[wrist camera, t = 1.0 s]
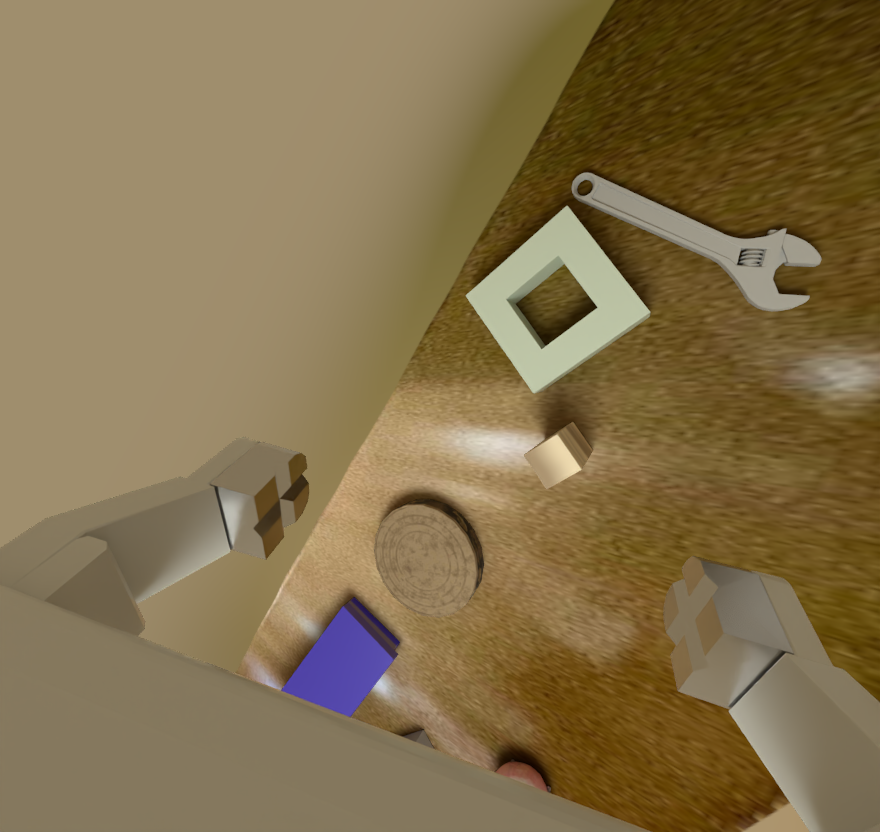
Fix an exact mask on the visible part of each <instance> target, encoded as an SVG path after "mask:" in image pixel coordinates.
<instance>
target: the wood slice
mask: <svg viewBox="0 0 880 832" xmlns="http://www.w3.org/2000/svg"><path fill="white" fill-rule="evenodd" d="M374 553H375V559H376V566H377V569H378V571H379V574H380V576H381V578H382V581H383V583H384V584H385V586H386V587H387V589H388V590H389V591H390V593H391V594H392V595H393V597H394V598H395V599H397V600H398V601H399V602H400V603H401V604H403V605H404V606H405V607H406V608H407V609H409V610H412V611H414V612H416V613H418V614H420V615H423V616H430V617H438V618H439V617H443V616H447V615H451V614H454V613H456V612H457V611H458V610H460V609H461V608H462V607H464V606H465V605H466V604H467V603H468V601H469V600H470V599H471V597H472V596H473V594H474V593H475V591H476V589H477V588H478V586H479V584H480V582H481V580H482V574H483V568H484V560H483V554H482V547H481V544H480V542H479V540H478V538H477V536H476V533H475V531H474V529H473V528H472V527H471V525H470V524H469V523H468V522H467V521H466V519H465V518H464V517H463V516H462V515H461V514H460V513H458V512H457V511H456V510H454V509H453V508H451V507H450V506H448V505H447V504H444V503H441V502H438V501H435V500H431V499H424V500H414V501H411V502H409V503H406V504H404V505H402V506H400V507H398V508H397V509H395V510H393V511H392V512H391V513H390V514H389V515H388V516H387V517H386V518H385V519H384V520H383V521H382V523H381V525H380V527H379V529H378V531H377V534H376V538H375V547H374Z"/></svg>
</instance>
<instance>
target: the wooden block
mask: <svg viewBox="0 0 880 832" xmlns="http://www.w3.org/2000/svg"><path fill="white" fill-rule="evenodd" d="M592 451H593V449H592V448H591V447H590V445H589V444H588V442H587V441H586V440H585V438H584V437H583V435H582V434H581V432H580V431H579V430H578V428H577V427H576V425H575V424H574V422H572V423H570V424H568V425H567V426H565V427H564V428H562V429H561V430H559V431H557V432H556V433H554V434H553V435H551V436H550V437H548V438H546V439H545V440H543V441H542V442H541V443H539V444H538V445H537V446H535V447H534V448H533V449H531V450H530V451H529V452H527V453H526V454H525V455H524V457H525V458H526V459H527V461H528V462H529V464H530V465H531V467H532V468H533V470H534V471H535V473H536V474H537V476H538V477H539V479H540V480H541V482H542V483H543V485H544V486H545V488H546V489H548V488H550V487H552V486H554V485H555V484H557V483H559V482H561V481H562V480H564V479H566V478H568V477H569V476H571V475H573V474H575V473H576V472H578V471H580V470H582V468H583V466H584V465H585V463H586V461H587V460H588V458H589V456H590V455H591V453H592Z"/></svg>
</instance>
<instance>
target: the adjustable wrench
mask: <svg viewBox="0 0 880 832" xmlns="http://www.w3.org/2000/svg"><path fill="white" fill-rule="evenodd" d="M584 180H590V181H591V182H592V184H593V189H592V191H591V192H590V193H589V194H588V195H586V196H581V195H579V194H578V192H577V187H578V185H579V183H580V182H582V181H584ZM572 193H573V195H574V197H575V198H576V199H577V200H578V201H580V202H583V203H585V204H587V205H589V206H592V207H594V208H596V209H598V210H601V211H603V212H605V213H607V214H610V215H612V216H614V217H617V218H619V219H621V220H623V221H626V222H628V223H630V224H632V225H635V226H637V227H639V228H641V229H644V230H646V231H648V232H651V233H653V234H655V235H657V236H660V237H662V238H664V239H666V240H669V241H671V242H673V243H675V244H678V245H680V246H682V247H685V248H687V249H689V250H691V251H694V252H696V253H698V254H700V255H703V256H705V257H707V258H709V259H711V260H713V261H715V262H716V263H718V264H719V265H720V266H721V267H722V268H723V269H724V270H725V271H726V272H727V273H728V274H729V275H730V277H731V278H732V279H733V280H734V282H735V283H736V284H737V286H738V287H739V289H740V291H741V292H742V294H743V295H744V297H745V298H746V300H747V301H748V302H749V303H750V304H752V305H753V306H755V307H756V308H759V309H761V310H767V311H782V310H787V309H792V308H794V307H796V306H798V305H800V304H803V303H805V302H806V301H807V300H808V299H809V297H810V296H803V295H788V294H779V293H778V290H777V288H776V285H775V283H774V281H773V276H774V273H775V270H776V269H777V268H778V267H779V266H780V265H781V264H782V263H784V265H785V266H807V267H815V266H817V265H819V264H820V262H821V257H820V255H819V253H818V252H817V251H816V250H815V248H814V247H813V246H811V245H810V244H809V243H808V242H806V241H805V240H802V239H800V238H798V237H795V236H792V235H789V234H785V233H786V230H787V228H786V229H781V230H780V231H778V230H769V231H768V233H767V234H768V236H764V237H758V238H752V239H740V238H734V237H731V236H728V235H725V234H723V233H721V232H719V231H716V230H714V229H712V228H710V227H708V226H706V225H703V224H701V223H699V222H697V221H695V220H692V219H690V218H688V217H686V216H684V215H681V214H679V213H677V212H675V211H673V210H671V209H668V208H666V207H664V206H662V205H660V204H657V203H655V202H653V201H651V200H649V199H646V198H644V197H642V196H640V195H638V194H635V193H633V192H631V191H629V190H627V189H625V188H622V187H620V186H618V185H616V184H614V183H611V182H609V181H607V180H605V179H603V178H600V177H598V176H596V175H594V174H592V173H588V172H587V173H582V174H580V175H579V176H577V177H576V178H575V180H574V181H573V184H572ZM740 251H746V252H743V253H742V257H741V258H740V260H742V261H740V262H739V264H741V265H737V262H738V259H739V255H740ZM760 254H761V255H760ZM759 258H760V260H758V259H759ZM758 262H759V264H757V263H758Z"/></svg>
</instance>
